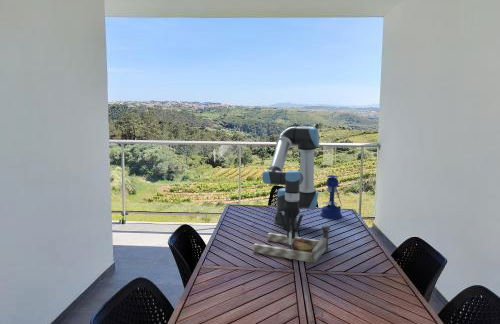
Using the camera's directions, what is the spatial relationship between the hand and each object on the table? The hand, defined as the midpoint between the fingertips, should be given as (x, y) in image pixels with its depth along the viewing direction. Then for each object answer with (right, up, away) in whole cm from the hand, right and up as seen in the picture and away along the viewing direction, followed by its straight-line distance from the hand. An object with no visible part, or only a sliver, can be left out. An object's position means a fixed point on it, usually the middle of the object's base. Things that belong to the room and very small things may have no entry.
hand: (290, 244), depth 192 cm
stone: (+6, -4, -1) cm, 7 cm away
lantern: (+37, +4, +69) cm, 78 cm away
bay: (+1, -3, +2) cm, 4 cm away
